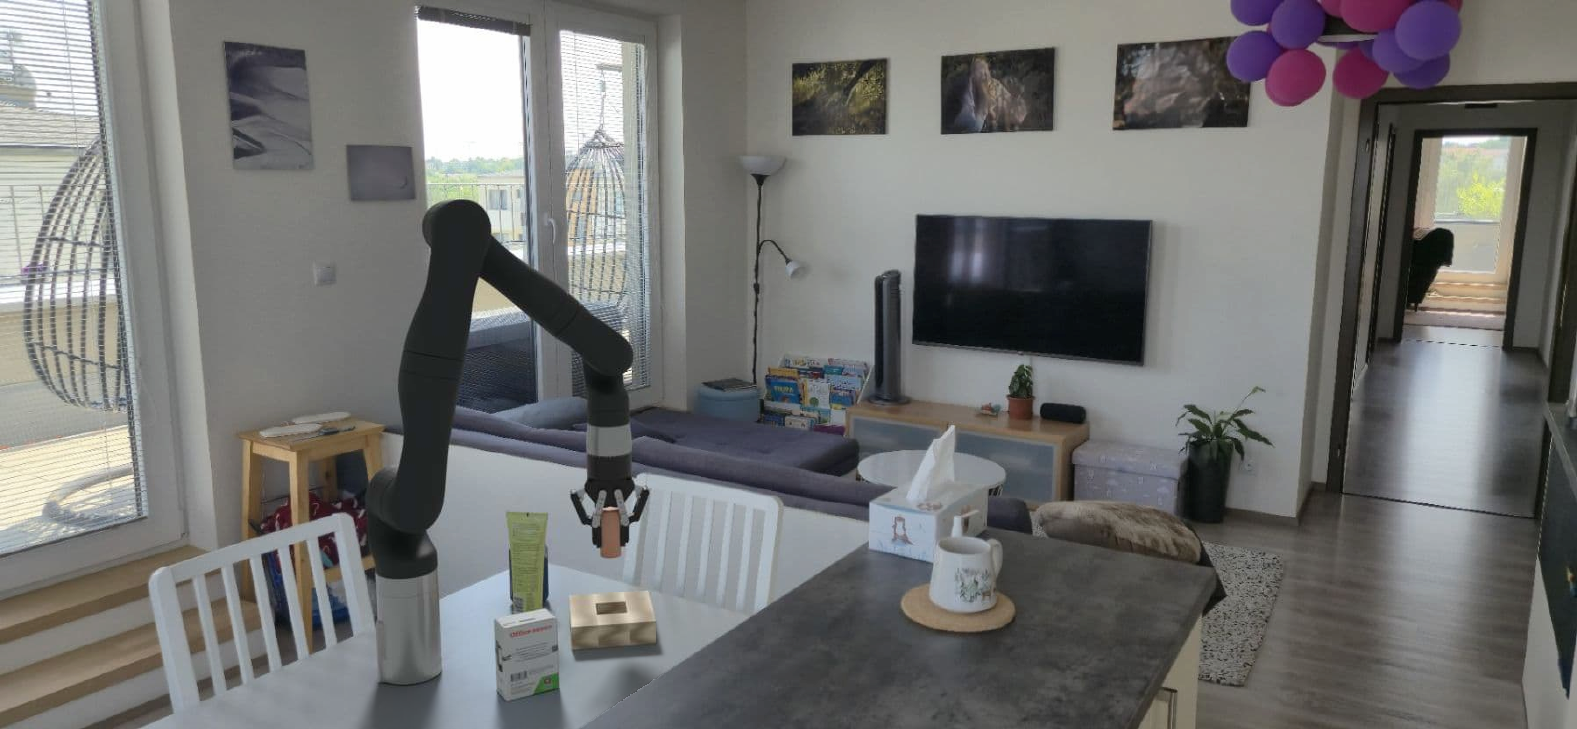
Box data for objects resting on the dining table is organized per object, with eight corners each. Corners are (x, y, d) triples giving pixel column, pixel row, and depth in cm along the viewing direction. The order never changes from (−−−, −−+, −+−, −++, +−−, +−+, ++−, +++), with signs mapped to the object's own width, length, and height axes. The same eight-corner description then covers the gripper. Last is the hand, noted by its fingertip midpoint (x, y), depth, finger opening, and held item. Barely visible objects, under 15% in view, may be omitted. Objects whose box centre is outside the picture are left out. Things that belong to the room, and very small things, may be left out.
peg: (600, 559, 189) (600, 514, 187) (599, 551, 192) (598, 507, 191) (622, 557, 190) (621, 512, 188) (620, 550, 193) (620, 506, 192)
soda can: (555, 597, 207) (553, 535, 205) (538, 611, 200) (537, 548, 198) (520, 593, 209) (519, 532, 207) (503, 607, 202) (501, 544, 200)
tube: (537, 608, 202) (535, 505, 198) (550, 617, 198) (548, 512, 194) (508, 616, 198) (505, 510, 195) (521, 625, 194) (518, 518, 191)
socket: (571, 649, 185) (571, 627, 184) (569, 616, 198) (569, 595, 198) (655, 643, 188) (655, 621, 187) (648, 611, 201) (648, 590, 201)
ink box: (548, 676, 175) (547, 605, 173) (560, 689, 171) (559, 616, 169) (495, 689, 171) (492, 616, 169) (505, 702, 167) (503, 628, 165)
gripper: (649, 441, 193) (649, 536, 196) (565, 444, 190) (567, 541, 193) (653, 452, 185) (654, 550, 188) (566, 456, 182) (569, 556, 185)
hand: (610, 545), depth 191 cm, fingers closed on peg, 3 cm apart
